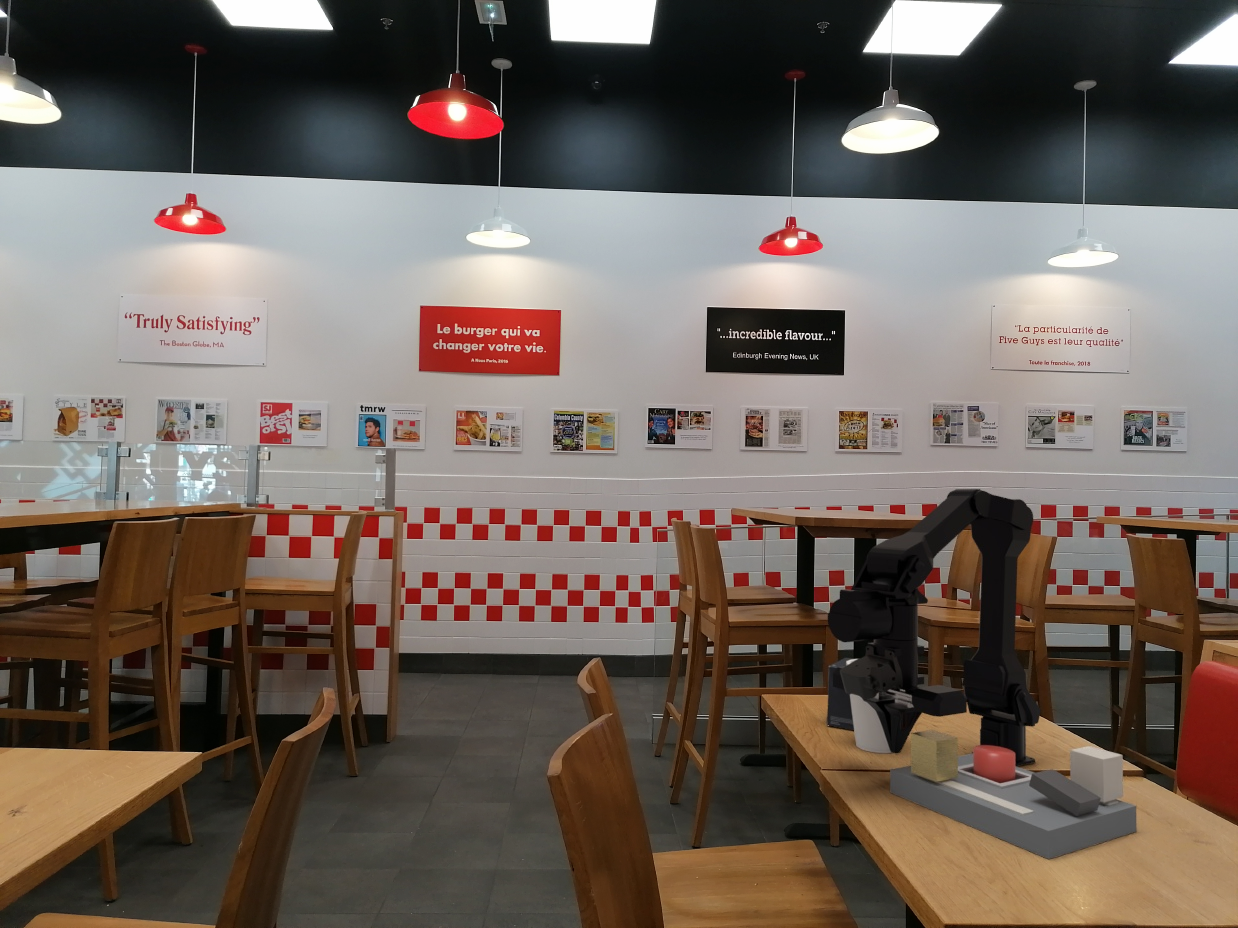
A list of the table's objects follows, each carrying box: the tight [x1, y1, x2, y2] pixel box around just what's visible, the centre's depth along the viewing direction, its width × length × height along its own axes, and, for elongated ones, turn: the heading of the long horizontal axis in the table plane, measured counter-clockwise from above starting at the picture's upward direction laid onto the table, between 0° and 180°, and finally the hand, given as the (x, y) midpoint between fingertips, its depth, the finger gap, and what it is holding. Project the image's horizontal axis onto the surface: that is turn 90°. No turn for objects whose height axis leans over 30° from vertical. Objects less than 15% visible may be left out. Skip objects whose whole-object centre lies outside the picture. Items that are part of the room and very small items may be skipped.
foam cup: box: [846, 658, 905, 754], centre depth 125 cm, size 10×9×13 cm
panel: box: [889, 753, 1138, 860], centre depth 99 cm, size 17×22×3 cm
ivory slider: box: [1069, 745, 1124, 802], centre depth 96 cm, size 4×4×5 cm
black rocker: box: [1029, 768, 1101, 816], centre depth 92 cm, size 4×6×2 cm, turn 29°
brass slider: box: [910, 729, 959, 782], centre depth 101 cm, size 4×4×5 cm
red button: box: [972, 744, 1015, 783], centre depth 103 cm, size 5×5×6 cm
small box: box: [826, 657, 854, 731], centre depth 139 cm, size 11×6×10 cm, turn 148°
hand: (895, 752), depth 107 cm, fingers closed
